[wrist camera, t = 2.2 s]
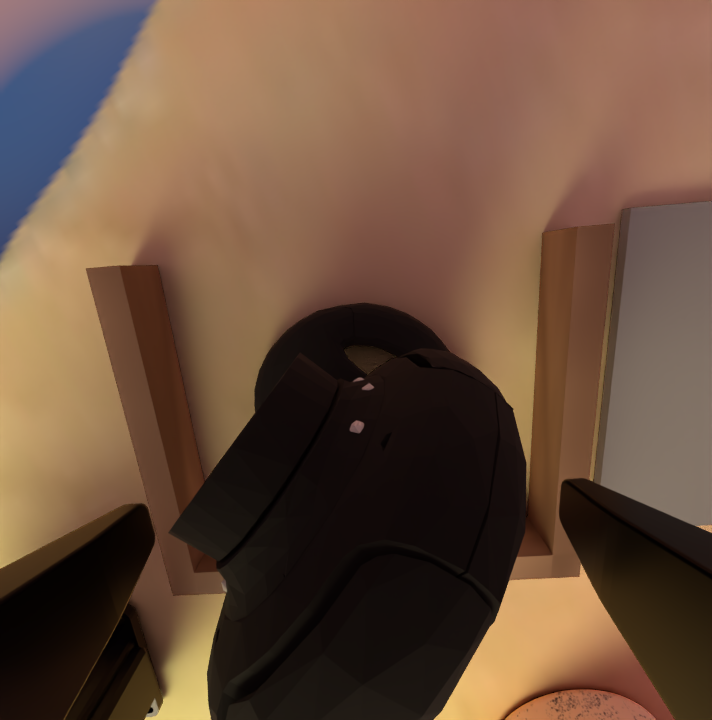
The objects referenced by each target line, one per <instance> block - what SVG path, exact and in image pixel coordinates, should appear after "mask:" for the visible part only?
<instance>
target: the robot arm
mask: <svg viewBox="0 0 712 720" xmlns="http://www.w3.org/2000/svg"><path fill="white" fill-rule="evenodd" d="M559 518H560V522H561V524H562V527H563V529H564V531H565V533H566V535H567V536H568V538H569V540H570V542H571V544H572V546H573V548H574V550H575V552H576V554H577V556H578V558H579V560H580V562H581V564H582V566H583V568H584V570H585V572H586V574H587V576H588V578H589V580H590V582H591V584H592V586H593V588H594V589H595V591H596V593H597V595H598V597H599V599H600V600H601V602H602V604H603V605H604V607H605V609H606V610H607V612H608V614H609V615H610V617H611V618H612V620H613V622H614V623H615V625H616V626H617V628H618V630H619V631H620V633H621V634H622V636H623V637H624V639H625V641H626V642H627V644H628V645H629V647H630V649H631V650H632V652H633V653H634V655H635V657H636V658H637V660H638V661H639V663H640V665H641V666H642V668H643V669H644V671H645V672H646V674H647V676H648V677H649V679H650V680H651V682H652V684H653V685H654V687H655V688H656V690H657V692H658V693H659V695H660V696H661V698H662V700H663V701H664V703H665V704H666V706H667V708H668V709H669V711H670V712H671V714H672V715H673V717H674V719H675V720H712V533H710V532H708V531H706V530H703V529H701V528H699V527H696V526H694V525H692V524H690V523H687V522H685V521H683V520H680V519H678V518H676V517H673V516H671V515H669V514H666V513H664V512H662V511H659V510H657V509H655V508H653V507H650V506H648V505H646V504H643V503H641V502H639V501H636V500H634V499H632V498H629V497H627V496H625V495H622V494H620V493H618V492H615V491H613V490H611V489H609V488H606V487H604V486H602V485H599V484H597V483H595V482H592V481H590V480H588V479H585V478H572V479H565V480H563V481H562V483H561V489H560V502H559ZM154 542H155V533H154V529H153V525H152V521H151V518H150V514H149V510H148V507H147V506H146V505H145V504H142V503H141V504H126V505H123V506H121V507H119V508H117V509H115V510H113V511H111V512H109V513H107V514H105V515H103V516H102V517H100V518H98V519H96V520H94V521H92V522H90V523H88V524H86V525H84V526H82V527H80V528H78V529H76V530H74V531H73V532H71V533H69V534H67V535H65V536H63V537H61V538H59V539H57V540H55V541H53V542H51V543H49V544H47V545H46V546H44V547H42V548H40V549H38V550H36V551H34V552H32V553H30V554H28V555H26V556H24V557H22V558H20V559H19V560H17V561H15V562H13V563H11V564H9V565H7V566H5V567H3V568H1V569H0V720H144V719H145V717H153V716H156V715H157V714H158V712H159V710H160V708H161V706H162V703H163V698H162V695H161V692H160V688H159V685H158V682H157V679H156V675H155V672H154V669H153V665H152V662H151V659H150V656H149V652H148V649H147V646H146V643H145V639H144V636H143V633H142V629H141V626H140V623H139V620H138V616H137V613H136V611H135V609H134V608H133V607H132V606H131V605H128V604H127V603H128V601H129V599H130V597H131V595H132V592H133V590H134V588H135V586H136V584H137V581H138V579H139V577H140V575H141V573H142V570H143V568H144V566H145V564H146V562H147V559H148V557H149V555H150V553H151V551H152V548H153V546H154Z"/></svg>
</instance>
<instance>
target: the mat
mask: <svg viewBox="0 0 712 720" xmlns="http://www.w3.org/2000/svg"><path fill="white" fill-rule="evenodd" d="M594 482H595V483H597V484H599V485H602V486H604V487H606V488H609V489H611V490H613V491H615V492H618V493H620V494H622V495H625V496H627V497H629V498H632V499H634V500H636V501H639V502H641V503H643V504H646V505H648V506H650V507H653V508H655V509H657V510H659V511H662V512H664V513H666V514H669V515H671V516H673V517H676V518H678V519H680V520H683V521H685V522H687V523H690V524H692V525H694V526H700V525H712V201H705V202H693V203H682V204H670V205H658V206H647V207H635V208H628V209H623V210H622V217H621V226H620V236H619V245H618V255H617V264H616V274H615V283H614V293H613V302H612V312H611V322H610V331H609V341H608V350H607V360H606V369H605V379H604V388H603V398H602V407H601V417H600V427H599V436H598V446H597V455H596V465H595V474H594Z"/></svg>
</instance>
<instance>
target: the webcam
mask: <svg viewBox="0 0 712 720" xmlns="http://www.w3.org/2000/svg"><path fill="white" fill-rule="evenodd" d="M354 345H359V346H373V347H376V348H380V349H384V350H386V351H388V352H390V353H391V354H393V355H395V356H397V358H394V359H391V360H389V361H388V362H386V363H384V364H383V365H381V366H380V367H378V368H376V369H375V370H374V371H372V372H371V373H370V374H369V375H367V374H366V373H364V372H363V371H362V370H360V369H359V368H358V367H357V366H356V365H355V364H354V363H353V362H351V361H350V360H349V359H348V357H347V355H346V354H345V352H344V348H345V347H349V346H354ZM513 410H514V409H513V408H512V407H511V406H510V405H509V404H508V403H507V402H506V401H505V399H504V397H503V396H502V394H501V392H500V391H499V389H498V388H497V387H496V386H495V385H494V384H493V383H492V382H491V381H490V380H489V379H488V378H487V377H486V376H485V375H484V374H483V373H482V372H481V371H480V370H478V369H477V368H475V367H474V366H473V365H471V364H470V363H468V362H466V361H464V360H463V359H461V358H459V357H457V356H456V355H454V354H452V353H450V351H449V350H448V349H447V348H446V346H445V345H444V344H443V343H442V341H441V340H440V339H439V338H438V337H437V336H436V335H435V333H434V332H433V331H432V330H431V329H430V328H428V327H427V326H425V325H424V324H423V323H421V322H420V321H419V320H417V319H415V318H413V317H412V316H410V315H408V314H407V313H404V312H401V311H399V310H396V309H393V308H391V307H387V306H381V305H375V304H368V303H358V304H350V305H342V306H337V307H333V308H328V309H324V310H320V311H317V312H315V313H313V314H311V315H309V316H308V317H306V318H304V319H302V320H300V321H299V322H298V323H296V324H295V325H293V326H292V327H291V328H289V329H288V330H287V331H286V332H285V333H284V334H283V335H282V336H281V337H280V339H279V340H278V341H277V342H276V343H275V344H274V345H273V347H272V348H271V350H270V351H269V353H268V354H267V356H266V358H265V360H264V362H263V364H262V366H261V368H260V370H259V374H258V378H257V382H256V386H255V414H254V415H253V417H252V418H251V419H250V421H249V422H248V423H247V425H246V426H245V427H244V429H243V430H242V432H241V433H240V434H239V436H238V437H237V438H236V440H235V441H234V442H233V444H232V445H231V447H230V448H229V449H228V451H227V452H226V453H225V455H224V456H223V457H222V459H221V460H220V462H219V463H218V464H217V466H216V467H215V468H214V470H213V471H212V473H211V474H210V475H209V477H208V478H207V479H206V481H205V482H204V484H203V485H202V486H201V488H200V489H199V490H198V492H197V493H196V495H195V496H194V497H193V499H192V500H191V501H190V503H189V504H188V506H187V507H186V508H185V510H184V511H183V512H182V514H181V515H180V517H179V518H178V519H177V521H176V522H175V524H174V525H173V526H172V528H171V529H170V531H169V532H168V533H169V534H171V535H172V536H174V537H176V538H178V539H180V540H181V541H183V542H185V543H187V544H189V545H190V546H192V547H194V548H196V549H197V550H199V551H201V552H203V553H205V554H206V555H208V556H210V557H212V558H214V559H215V560H216V569H217V570H218V571H219V573H220V574H221V575H222V577H223V578H224V580H223V581H222V583H221V584H222V587H223V591H225V592H226V596H225V600H224V603H223V607H222V610H221V614H220V617H219V621H218V624H217V628H216V631H215V635H214V638H213V644H212V649H211V655H210V660H209V665H208V671H207V681H208V702H209V709H210V715H211V720H433V719H434V718H435V717H436V716H437V715H438V714H439V713H440V712H441V711H442V710H443V708H444V706H445V704H446V703H447V701H448V699H449V697H450V696H451V694H452V692H453V690H454V689H455V687H456V685H457V683H458V682H459V680H460V678H461V676H462V674H463V673H464V671H465V669H466V667H467V666H468V664H469V662H470V660H471V659H472V657H473V655H474V653H475V652H476V650H477V648H478V646H479V644H480V643H481V641H482V639H483V637H484V636H485V634H486V632H487V630H488V629H489V627H490V626H491V625H492V624H493V623H494V621H495V619H496V616H497V613H498V611H499V608H500V605H501V602H502V599H503V597H504V594H505V591H506V588H507V585H508V582H509V579H510V576H511V573H512V570H513V567H514V564H515V561H516V558H517V555H518V552H519V549H520V546H521V543H522V540H523V537H524V534H525V523H526V460H525V456H524V452H523V448H522V444H521V440H520V436H519V432H518V428H517V424H516V421H515V417H514V413H513Z"/></svg>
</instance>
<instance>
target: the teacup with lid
mask: <svg viewBox="0 0 712 720" xmlns="http://www.w3.org/2000/svg"><path fill="white" fill-rule="evenodd" d="M505 720H656V719H655V717H654V716H653V715H652V714H650V713H649V712H648V711H647V710H646V709H645V708H643V707H642V706H641V705H639V704H637V703H636V702H634V701H632V700H630V699H628V698H626V697H623V696H620V695H618V694H614V693H610V692H606V691H600V690H590V689H577V690H566V691H560V692H555V693H551V694H547V695H545V696H542V697H539V698H536V699H534V700H532V701H530V702H528V703H526V704H524V705H522V706H521V707H519V708H518V709H516V710H515V711H514V712H512V713H511V714H510V715H509V716H508V717H507V718H506V719H505Z"/></svg>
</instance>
